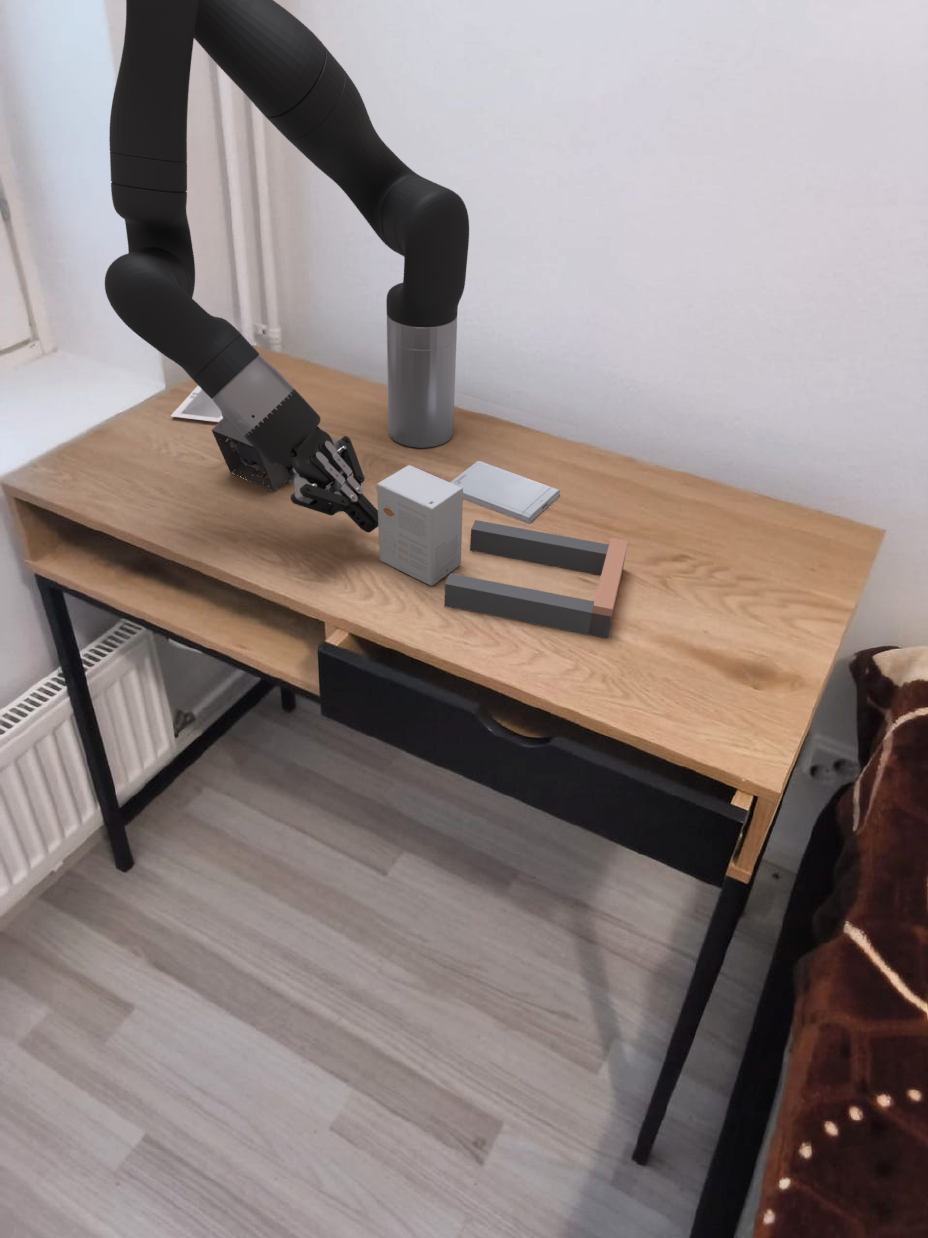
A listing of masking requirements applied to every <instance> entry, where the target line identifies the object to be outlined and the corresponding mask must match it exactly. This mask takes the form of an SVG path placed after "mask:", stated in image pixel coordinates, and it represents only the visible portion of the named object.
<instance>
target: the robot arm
mask: <svg viewBox="0 0 928 1238" xmlns="http://www.w3.org/2000/svg"><path fill="white" fill-rule="evenodd" d="M125 3H126V4H125V6H126V7H125V8H126V9H125V13H126V14H125V28H124V30H125V31H124V37H123V38H124V39H123V47H122V53H121V59H120V64H119V69H118V73H117V78H116V82H115V87H114V91H113V98H112V103H111V109H110V118H109V139H108V140H109V160H110V161H109V162H110V163H109V164H110V165H109V166H110V181H111V182H110V192H111V198H112V199H111V200H112V204H113V208H114V211H115V212H116V214H117V215H118V216H119V217H121V218H122V219H124V222H125V229H126V239H127V245H128V247H127V248H128V253H125V254H123V255H121V256H119V257H117V258H116V259H115V260H114V261H112V263H111V264H110V265H109V266H108V268H107V269H106V272H105V275H104V290H105V295H106V298H107V300H108V303H109V305H110V306H111V308H112V309H113V311H114V313H116V315H117V316H118V317H119V319H121V321H122V322H123V323H124V324H125V325H126V326H127V327H128V328H129V329H130V331H132V332H134V333H135V334H136V335H137V336H139V337H140V338H141V339H142V340H143V341H145V342H146V343H147V344H149V345H150V346H151V347H153V348H154V349H155V350H156V351H158V352H159V353H160V354H162V355H164V356H165V357H166V358H167V359H170V360H171V361H173V362H174V363H175V364H176V365H178V366H179V367H181V368H182V370H184V371H185V373H186V374H187V375H188V376H189V377H190V378H191V379H192V380H193V381H194V382H195V384H196V385H197V386H199V387H200V388H201V389H202V390H203V391H204V392H205V393H206V394H207V395H208V396H209V397H210V398H211V399H213V401H214V403H215V404H216V405H217V406H218V407H219V409H220V410H221V412H222V413H223V414H224V416H225V417H226V418H227V419H228V420H229V421H230V422H231V423H232V424H233V426H234V427H235V428H236V429H237V430H238V431H239V432H240V433H241V434H242V435H243V436H244V437H245V438H246V439H247V440H248V441H249V442H250V443H251V444H252V445H253V446H254V447H255V448H256V449H257V450H258V452H259V453H260V454H261V455H262V456H263V457H264V458H265V459H266V460H267V461H268V462H269V463H271V464H276V463H279V464H281V465H282V466H283V468H284V469H285V471H286V473H287V475H288V477H289V478H290V479H291V480H293V481H294V483H293V484H294V490H295V491H294V492H293V493H292V494H291V495H290V501H291V502H292V503H293V504H294V505H297V506H300V507H303V508H307V509H309V510H312V511H315V512H318V513H322V514H325V515H328V516H334V515H336V514H338V513H339V512H341V513H342V512H344V513H345V514H346V515H347V516H348V517H349V518H350V519H351V520H352V521H353V523H355V525H356V526H357V527H358V528H360V530H362V531H364V532H365V533H367V534H368V533H371V532H373V531H374V530H376V529H377V528H378V508H376V507H375V505H373V503H372V502H371V501H370V500H369V499H368V498H367V496H365V495H364V488H363V487H362V484H363V483H364V482H365V481H366V478H365V475H364V474H363V470H362V467H361V464H360V462H359V459H358V456H357V453H356V451H355V447H354V445H353V442H352V440H351V438H350V437H349V436H347V435H344V436H343V437H341V438H339V439H337V438H333V437H332V436H331V435H330V434H329V433H328V432H326V431H325V430H323V429H322V428H320V426H319V425H320V422H321V416H320V415H319V413H317V411H316V410H315V409H314V408H313V407H312V406H311V405H310V404H309V403H308V401H307V400H306V399H305V398H304V397H303V396H302V395H301V394H300V393H299V392H298V390H296V388H295V387H294V386H293V385H292V384H291V383H290V382H289V381H288V380H287V379H286V378H285V377H284V375H283V374H282V373H281V372H280V371H279V370H278V369H277V368H276V367H275V366H274V365H272V363H270V362H269V361H268V360H266V359H265V357H263V356H262V355H260V353H259V352H258V351H257V350H256V349H255V347H253V345H252V344H251V343H250V341H248V340H247V339H246V337H244V336H243V335H242V333H241V332H240V331H239V330H238V329H237V328H236V327H235V326H234V325H233V324H232V323H231V322H229V321H228V320H226V318H225V319H224V318H223V317H219V316H215V315H214V316H213V315H211V314H210V313H208V312H207V311H206V309H204V308H203V307H202V306H201V305H200V304H199V303H198V302H197V301H196V300H195V299H194V298H193V297H194V291H195V284H196V283H195V282H196V267H195V266H196V263H195V257H194V249H193V241H192V236H191V229H190V225H189V220H188V214H187V204H188V203H187V202H188V192H187V191H188V142H187V141H188V138H187V137H188V136H187V135H188V106H189V90H190V79H191V69H192V68H191V67H192V56H193V47H194V40H195V41H196V42H197V43H198V44H199V46H201V48H202V49H203V50H204V51H205V52H206V54H207V55H208V56H209V57H210V58H211V60H213V62H215V64H216V65H217V66H218V67H219V68H220V69H221V70H222V71H223V73H225V75H226V76H227V77H228V78H229V79H230V80H231V81H232V82H233V83H234V84H235V85H236V87H238V88H239V90H241V91H242V92H243V93H244V95H245V96H246V97H247V98H248V99H249V100H250V101H251V102H252V103H253V105H254V106H255V107H256V108H257V109H258V110H259V111H260V112H261V114H262V115H263V116H264V117H265V118H266V119H267V120H268V121H269V122H270V123H271V124H272V125H273V127H275V128H276V130H278V132H280V133H281V135H283V137H285V138H286V140H288V142H289V143H291V144H292V145H293V146H294V147H295V148H296V149H297V150H298V151H299V152H300V153H302V154H303V155H304V157H306V159H308V160H309V161H310V162H311V163H312V164H313V165H314V166H315V167H316V168H317V169H319V170H320V171H321V172H322V173H323V174H324V175H325V176H327V177H328V178H330V179H331V180H332V181H333V182H334V183H335V185H337V186H338V187H339V188H340V189H341V190H342V191H343V193H345V194H346V196H347V197H348V198H349V200H350V201H351V202H352V204H353V205H354V206H355V208H356V209H357V210H358V211H359V212H360V214H361V215H362V217H363V219H364V220H365V221H366V222H367V224H369V226H370V228H372V230H373V231H374V232H375V234H376V235H377V237H378V238H379V239H380V240H381V241H382V242H383V244H384V245H385V246H387V247H388V248H389V249H391V251H393V252H395V253H397V254H398V255H400V256H402V257H404V259H403V261H404V262H403V278H402V280H403V281H402V282H399V283H397V284H395V285H394V286H392V287H391V288H390V289H389V290H388V291H387V294H386V348H387V349H386V351H387V355H386V356H387V361H386V362H387V365H386V366H387V428H388V429H387V431H388V436H389V437H390V439H392V440H393V441H394V442H396V443H398V444H400V445H403V446H407V447H409V448H418V449H419V448H420V449H421V448H422V449H423V448H433V447H438V446H440V445H443V444H445V443H447V442H448V441H450V440H451V439H452V437H453V434H454V420H455V419H454V414H455V393H456V392H455V391H456V390H455V389H456V369H457V367H456V364H457V337H458V336H457V335H458V334H457V332H458V330H457V329H458V307H459V304H460V301H461V299H462V296H463V295H464V294H463V293H464V290H465V285H466V279H467V278H466V277H467V276H466V275H467V266H468V255H469V254H468V253H469V243H470V218H469V214H468V209H467V207H466V204H465V202H464V200H463V199H462V198H461V196H460V195H459V194H458V193H456V192H455V191H454V190H451V188H448V187H445V186H443V185H441V184H438V183H437V182H434V181H431V180H429V179H428V178H425V177H423V176H421V175H420V174H418V173H416V172H415V171H414V170H412V169H411V168H410V167H409V166H408V165H407V164H406V163H405V162H403V161H402V160H401V159H400V157H398V156H397V155H396V154H395V153H394V152H393V151H392V149H391V148H390V147H388V145H387V144H386V143H385V142H384V141H383V139H382V138H381V137H380V136H379V134H378V132H377V131H376V129H375V127H374V125H373V123H372V120H371V118H370V115H369V113H368V110H367V108H366V105H365V103H364V100H363V97H362V96H361V93H360V92H359V89H358V88H357V86H356V84H355V83H354V81H353V80H352V79H351V77H350V75H348V73H347V71H346V70H345V69H344V68H343V66H342V65H341V64H340V63H339V62H338V60H337V58H335V56H334V55H333V54H332V53H331V52H330V51H329V49H328V48H327V47H326V45H324V43H323V42H322V41H321V40H320V39H319V37H317V36H316V34H315V33H314V32H313V31H312V30H311V29H310V28H308V26H306V25H305V24H304V23H303V22H302V21H301V20H299V19H298V18H297V17H296V16H295V15H293V14H292V13H291V12H290V11H288V10H287V9H286V8H285V7H283V6H282V5H281V4H279V3H278V2H276V1H275V0H126V1H125Z"/></svg>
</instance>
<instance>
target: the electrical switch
mask: <svg viewBox="0 0 928 1238" xmlns="http://www.w3.org/2000/svg"><path fill="white" fill-rule="evenodd" d="M221 413H222V412H221ZM222 417H223V419H222V420H220V421H219V422H217V425H215V426H214V427H212V429H211V432H212V434H213V435H212V436H213V437H214V439H215V441H216V444H217V446H218V448H219V450H220V452H221V455H222V457H223V460H224V461H225V464H226V467H227V468H228V470H229V473H230V474H232V473H234V474H235V475H236V476H235V475H234V476H235V477H238V476H239V477H238V478H240V476H241V477H242V478H244V479H243V480H245V479H247V480H248V481H247V480H246V481H247V482H249V481H251V482H250V483H252V484H254V485H257V486H259V487H261V488H264V489H266V490H269V491H272V492H274V493H276V492H277V491H278V490H279V488H281V487H282V486H284V485H285V484H286V482H288V483H289V484H292V483H293V484H294V481H293V480H291V479H290V478H289V477H288V475H287V473H286V471H285V469H284V468H283V466H282V465H281V464H279V463H276V464H271V463H269V462H268V461H267V460H266V459H265V458H264V457H263V456H262V455H261V454H260V453H259V452H258V450H257V449H256V448H255V447H254V446H253V445H252V444H251V443H250V442H249V441H248V440H247V439H246V438H245V437H244V436H243V435H242V434H241V433H240V432H239V431H238V430H237V429H236V428H235V427H234V426H233V424H232V423H231V422H230V421H229V420H228V419H227V418H226V417H225V416H224V414H223V413H222ZM260 472H262V473H263V474H262V475H261V476H259V473H260ZM237 475H238V476H237ZM242 478H241V479H242Z"/></svg>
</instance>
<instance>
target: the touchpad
mask: <svg viewBox="0 0 928 1238" xmlns="http://www.w3.org/2000/svg"><path fill="white" fill-rule="evenodd" d="M170 417H171V418H173V417H174V418H180V419H188V420H189V419H190V420H196V421H197V420H199V421H205V422H206V421H207V422H214V423H219V421H220V420H222V419H223V417H222V413H221V410H220V409H219V407H218V406H217V405H216V404H215V403H214V401H213V399H211V398H210V397H209V396H208V395H207V394H206V393H205V392H204V391H203V390H202V389H201V388H200V387H199V386H198V385H197V386H196V387H195V388H194V389H193V390H192V392H191V393H190V394H189V395H188V396H187V397H186V398H185V399H184V400H183V402H182V403H181V404H180V405H179V406H178V407H177V408H176V409H175V410H174V412H172V413H171V415H170Z"/></svg>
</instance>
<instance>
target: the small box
mask: <svg viewBox="0 0 928 1238" xmlns="http://www.w3.org/2000/svg"><path fill="white" fill-rule="evenodd" d="M450 482H451V481H447V480H445V479H442V478H440V477H438V476H435V475H433V474H431V473H429V472H426V471H424V470H421V469H419V468H417V467H416V466H415V467H414V466H413V465H410V464H408V465H406V466H405V467H403V468H401V469H399V470H398V471H396V472H394V473H392V474H391V475H390V476H388V477H386V478H384V479H383V480H381V481H380V482H378V483H377V484H376V493H377V495H376V496H377V499H376V500H377V510H378V527H377V528H378V549H379V555H378V556H379V560H380V562H383V563H385V564H387V565H389V566H391V567H392V568H395V569H396V570H398V571H401V572H402V573H404V574H407V575H409V576H411V577H413V578H415V579H417V580H419V581H420V582H423V583H425V584H426V585H429V586H431V587H432V586H433V585H435V584H436V583H438V582H440V580H442V579H443V578H444V577H446V576H447V575H449V574H450V573H452V571H453V570H456V568H458V567H459V566H460V565H461V564H462V545H463V544H462V537H463V534H462V533H463V505H464V504H463V503H464V499H463V488H462V487H459V486H457V485H455V484H452V483H450Z"/></svg>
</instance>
